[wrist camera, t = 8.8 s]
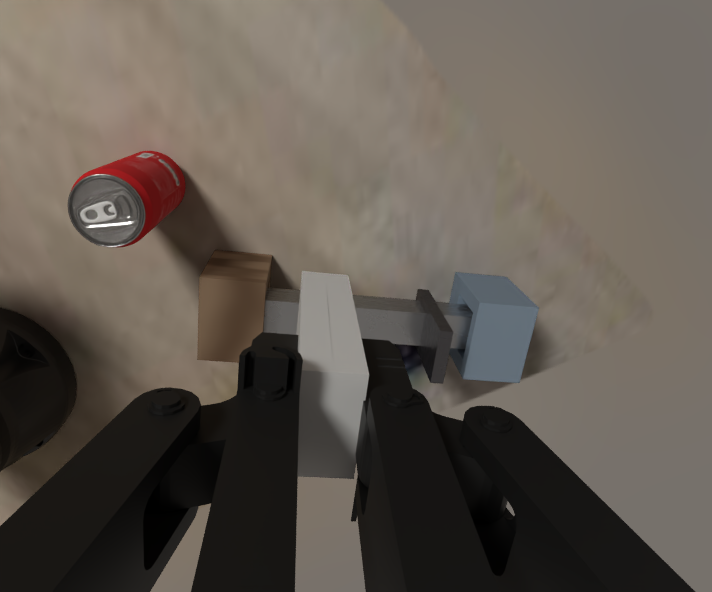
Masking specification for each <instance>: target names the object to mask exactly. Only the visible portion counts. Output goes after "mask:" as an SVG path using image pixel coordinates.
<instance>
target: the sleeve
mask: <svg viewBox="0 0 712 592" xmlns="http://www.w3.org/2000/svg"><path fill="white" fill-rule="evenodd" d="M271 265H272V255H266V254H255V253H244V252H233V251H223V250H215V251H214V253H213V255H212V256H211V258H210V260H209V262H208V263H207V265H206V267H205V268H204V270H203V272H202V274H201V275H200V277H199V313H198V359H197V360H209V361H224V362H238V363H239V355H240V354H241V352H242V351H243V350H244V349H246V348H248V347H250V346H251V345H252V340H253V339H254V338H256V337H257V336H258V335H259V334H260V333H262V332H263V328H264V313H265V298H266V291H267V287H269V288H270V279H271Z"/></svg>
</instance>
